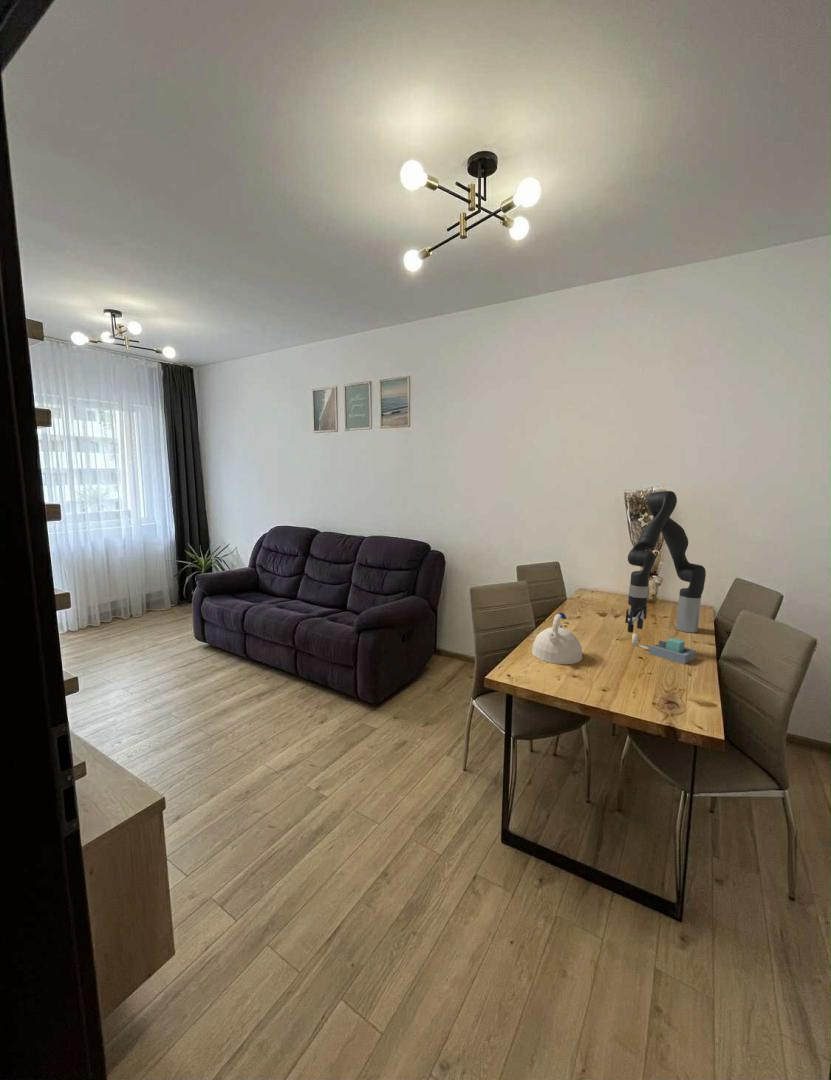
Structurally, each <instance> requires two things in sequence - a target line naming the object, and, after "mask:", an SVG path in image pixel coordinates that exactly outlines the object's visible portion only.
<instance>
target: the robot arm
mask: <svg viewBox="0 0 831 1080" xmlns="http://www.w3.org/2000/svg"><path fill="white" fill-rule="evenodd" d="M677 503H678V498H677V494H676V493H675V492H674V491H672V490H665V491H663V490H662V491H654V492H651V493H649V494H648V495H647V497H646V504H647V507H648V510H649V512H650V513H651V515H652V517H653V518H652V519H651V520H650V521H649V522H648V523H647V524H646V525H645V526H644V527H643V529H642V531H641V533H640V536H639V539H638V540H637V542H636V544H635V545H634V546H633V547H632V548H631V550H629V553H628V555H627V561H628V564H629V565H631V566H634V567H635V566H636V567H643V568H642V570H636V571H635V570H634V571H632V572H631V574H630V582H629V588H628V599H627V604H628V605H629V606H630V609H626V614H625V621H624V622H625V623H626V624H627V633H630V634H631V633H632V634H633V633H634V626H635V622H636V621H637V624H636V628H637V629H639V630H642V629H643V627H644V621H645V620H647V615H648V614H647V613H648V612H647V611H648V606H647V605H648V595H649V579H650V575H651V572H652V569H653V566H654V564H655V562H656V555H655V553H653V551H651V550H654V549H655V548H656V545H657V544H658V540H659V538H660V534H662V538H663V540H664V542H665V544H666V547H667V548H668V551H669V554H670V555H671V558H672V561H673V565H674V568H675V572H676V575H677V577H678V578H679V579H680V580H681V581H683V582H685V583H686V582H688V583H689V586H688V587H683V588H681V589H679V592H678V593H679V594H678V605H677V606H678V608H677V617H676V618H677V619H676V625H675V626H676V629H677V630H678V631H681V632H685V633H692V634H693V633H698V632H699V623H700V613H701V606H702V605H701V604H702V603H701V602H702V594H703V592H704V588H705V582H706V575H707V573H706V572H707V571H706V568H705V567H704V566H703V565H701V564H695V563H690V562H689V561H688V559H687V556H686V551H687V549H688V546H689V539H688V535H687V533H686V532H685V529H683V526H681V525H680V524H678V523H677V522H676V521H675V520H673V519H672V518H671V515H672V514H673V512H674V510H675V509H676V506H677Z"/></svg>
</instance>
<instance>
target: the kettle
mask: <svg viewBox="0 0 831 1080" xmlns="http://www.w3.org/2000/svg"><path fill="white" fill-rule="evenodd" d="M566 619H567V616H566V613H563V612H558V613H556V614H555V615H554V618H553V622H552V627H547V628H546V629H544V630H542V631H540V632H539V633H538V634H537V636H536V637H535V639H534V641H533V644H532V651H531V652H532V655H533V656H534V657H535V658H537V659H538V660H541V661H543V662H547V663H550V664H556V665H572V664H577V663H579V662H581V661H582V660H583V647H582V646H581V642H580V640H579V639H578V638H577V636H576V635H575V634H574V633H573V632H572V631H570V630H569V629H566V628H563V625H560V626H559V624H560V620H566Z"/></svg>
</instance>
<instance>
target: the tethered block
mask: <svg viewBox="0 0 831 1080" xmlns="http://www.w3.org/2000/svg"><path fill="white" fill-rule="evenodd" d="M639 635H640V634H639V633H635V632H633V633H632V636H631V646H633V647H639V648H643V649H645V650H649V647H650V646H646V645H642V644H639V639H640V638H639V637H640V636H639ZM665 642H666V649H668V650H671V651H675V652H678V653H682V654H683V653H684V647H685V640H682V639H679V638H674V637H670V638H668V639H666V641H665Z"/></svg>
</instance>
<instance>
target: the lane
mask: <svg viewBox="0 0 831 1080" xmlns="http://www.w3.org/2000/svg"><path fill="white" fill-rule="evenodd" d="M666 642H667V641H663V640H659V641H658V644H657V645H658V646H657V645H653V644H650V645H649V646H648V647H649V649H648V650H649V651H648V654H649V655H653V656H656V657H659V658H662V659H667V660H670V661H672V662H676V663H680V664H683V665H686V664H687V663H689V662H691V661H693V660H695V659H696V649H693V648H688V647H685V646H684V653H683V654H682V653H678V652H675V651H671V650H668V649H666Z"/></svg>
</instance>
